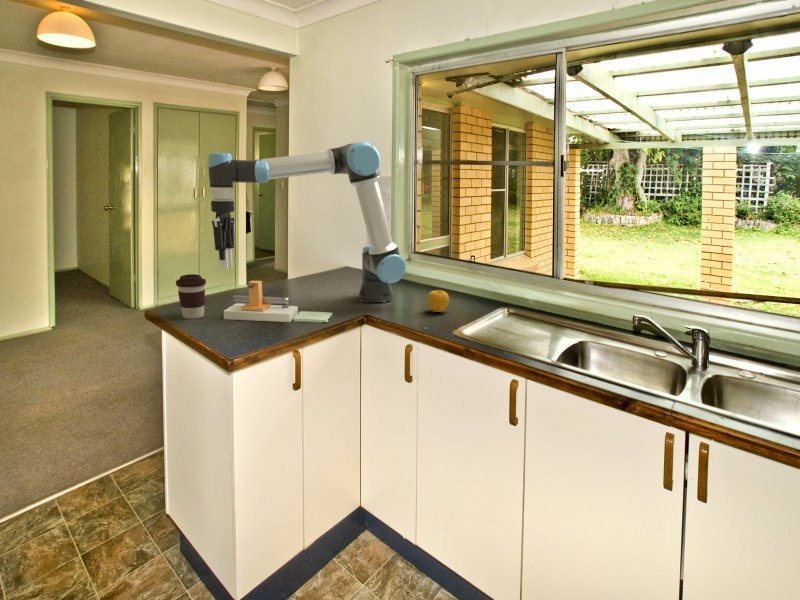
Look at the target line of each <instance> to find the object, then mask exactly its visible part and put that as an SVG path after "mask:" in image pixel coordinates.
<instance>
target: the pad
mask: <svg viewBox="0 0 800 600" xmlns="http://www.w3.org/2000/svg"><path fill="white" fill-rule="evenodd" d="M331 315H332V316H333V312H329V311H328V312H326V311H304V310H303V311H302V310H301V311H299V312H298V314H297V315H296V316H295V317H294V318H293V319H292V320H293V322H302V323H305V322H307V323H322V322H327V323H328V321H329V320H330V319H331V318H330V316H331ZM332 316H331V317H332ZM329 318H330V319H329ZM328 319H329V320H328Z"/></svg>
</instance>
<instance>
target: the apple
mask: <svg viewBox="0 0 800 600" xmlns="http://www.w3.org/2000/svg"><path fill="white" fill-rule="evenodd" d="M449 303H450V296H449V294H448V293H447V292H446V291H444V290H441V289H440V290H439V289H438V290H432V291H430V292H429V293H428V296H427V306H428V307H429V310H430V311H431V312H432V311H433V312H440V313H443V312H444V311H445V310H446V309H447V307H448V306H449ZM433 312H432V313H433Z"/></svg>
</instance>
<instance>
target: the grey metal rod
mask: <svg viewBox="0 0 800 600" xmlns="http://www.w3.org/2000/svg"><path fill="white" fill-rule="evenodd" d="M232 301H233V302H236V303H248V302H249V295H233V296H232ZM262 302H263V303H270V304H277V305H278V304H279V305H280V304H281V305H282V304H289V303H290V299H289V297H287V296H285V297H279V296H277V297H276V296H274V297H273V296H262Z"/></svg>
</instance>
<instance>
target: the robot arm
mask: <svg viewBox="0 0 800 600" xmlns="http://www.w3.org/2000/svg"><path fill="white" fill-rule="evenodd" d="M207 159H208V163H207V164H208V178H209V179H208V180H209V181H208V182H209V190H208V191H209V193H210V194H209V195H210V199H211V200H210V211H211V212H212V213H215V220H212V221H211V226H212V230H213V239H214V242H213V243H214V250H215V251H218V261H219V262H218V263H219V270H229V268H233V249H235V218H234V217H232V216H231V215H232V214H231V213H234V212H235V201H234V199H235V193H234V183H245V184H246V183H247V184H267V183H268V182H269V180H275V179H277V180H278V179H282V178H283V179H284V178H291V177H292V178H293V177H300V176H309V175H316V174H325V173H330V174H331V175H343V174H344V175H348V181H349V184H351V185H352V186H354V187H355V190H356V194H357V198H358V202H359V206H360V209H361V213H362V216H363V220H364V221H363V222H364V225H365V229H366V233H367V237H368V241H369V244H370V245H365V246H363V247H362V253H361V256H362V257H361V258H362V261H361V262H362V264H361V265H362V266H361V269H362V270H361V271H362V272H361V275H362V276H361V279H362V280H361V283H360V285H359V286H360V287H359V290H358V292H357V300H358V299H360V300H362V301H361V302H363V301H369V302H382V301H390V300H392V299H393V300H394V293H393V288H392V286H391V284H394V283H398V282H399V281H400V280H401V279H402V278H403V276H404V275H406V274H405V273H406V270H407V264H406V261H405V260H404V257H402V255H400V252H399V246H398V244H397V243H395V242H394V241H393V239H392V234H391V229H390V226H389V222H388V218H387V214H386V213H387V212H386V210H385V206H384V202H383V198H382V194H381V190H380V186H379V179H380V178H381V172H380V169H379V167H380V164H381V156H380V153H379V151H378V149H377V148H376V147H375V146H374V145H372V144H371V143H369V142H366V141H357V142H352V143H348V144H345V145H342V146H339V147H334V148H332V147H331V148H328V149H327V150H326V151H323V152H314V153H304V154H296V155H288V156H278V157H270V158H261V159H249V160H248V159H242V160H241V159H233V156H232V154H231V153H225V152H224V153H223V152H211V153H209V154H208V158H207ZM360 300H359V301H360ZM393 300H392V301H393ZM390 302H391V301H390Z"/></svg>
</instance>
